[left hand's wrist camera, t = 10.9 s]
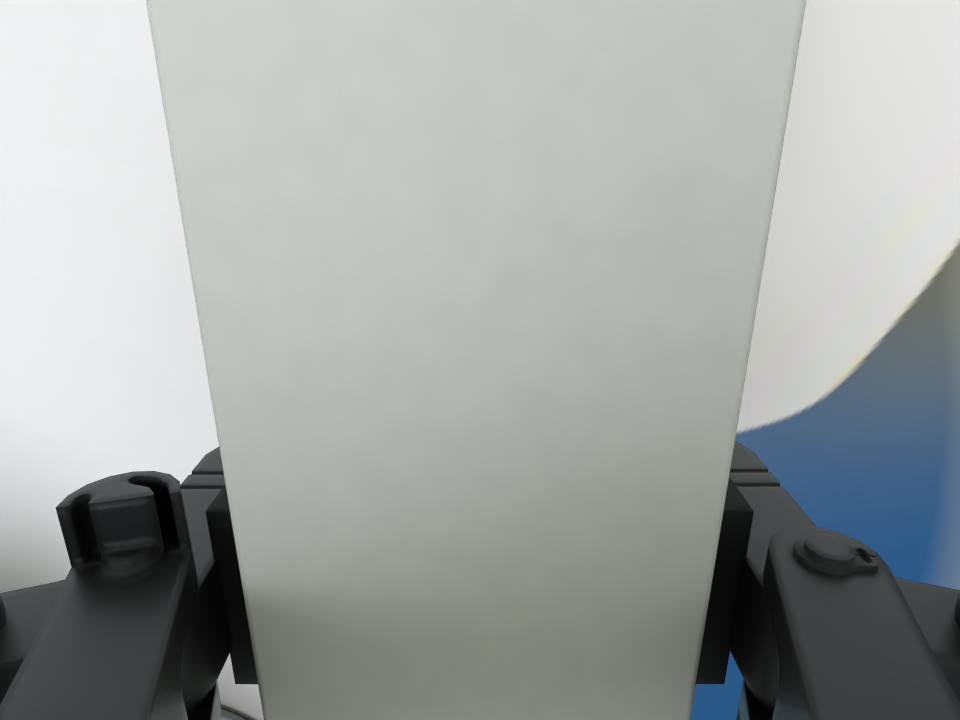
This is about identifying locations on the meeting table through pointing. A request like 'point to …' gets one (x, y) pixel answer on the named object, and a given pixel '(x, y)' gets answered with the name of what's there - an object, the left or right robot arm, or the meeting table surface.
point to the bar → (476, 334)
